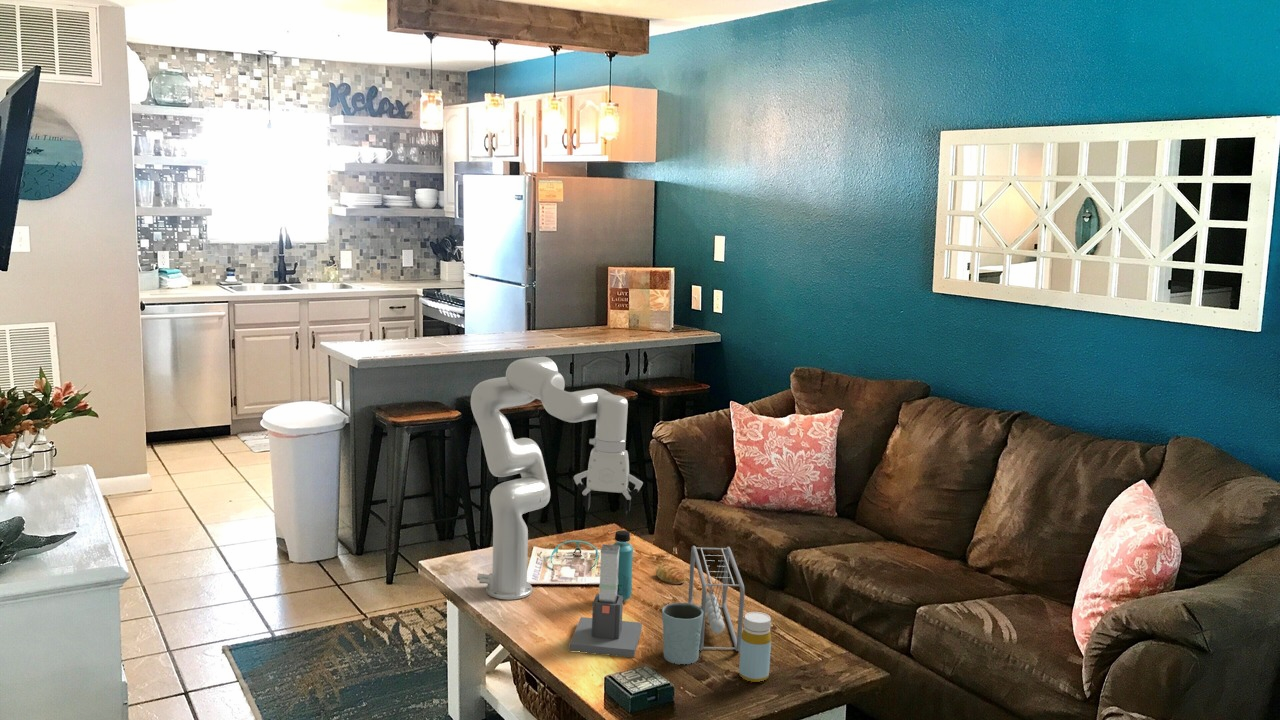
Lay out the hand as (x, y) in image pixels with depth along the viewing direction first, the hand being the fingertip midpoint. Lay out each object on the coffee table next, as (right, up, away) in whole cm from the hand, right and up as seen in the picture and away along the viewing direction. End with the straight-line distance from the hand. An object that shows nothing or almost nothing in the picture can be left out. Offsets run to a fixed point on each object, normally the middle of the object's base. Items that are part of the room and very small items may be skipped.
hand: (606, 511), depth 263 cm
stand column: (0, -23, 0) cm, 23 cm away
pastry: (+18, -26, +44) cm, 55 cm away
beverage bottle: (+3, -29, +26) cm, 39 cm away
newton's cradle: (+27, -33, +12) cm, 44 cm away
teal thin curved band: (-11, -24, +53) cm, 59 cm away
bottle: (+35, -37, -14) cm, 53 cm away
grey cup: (+18, -35, -5) cm, 40 cm away
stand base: (0, -33, +2) cm, 33 cm away
